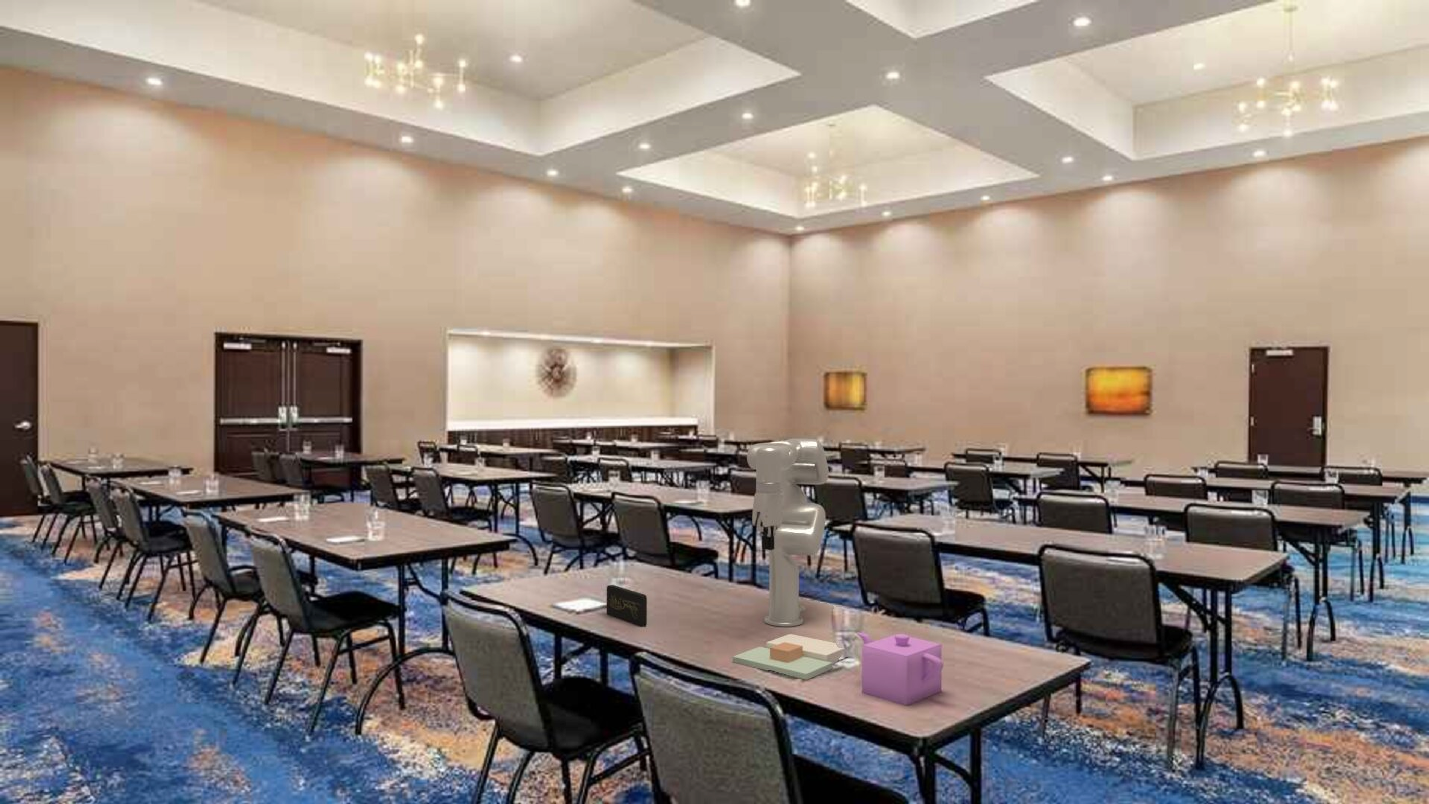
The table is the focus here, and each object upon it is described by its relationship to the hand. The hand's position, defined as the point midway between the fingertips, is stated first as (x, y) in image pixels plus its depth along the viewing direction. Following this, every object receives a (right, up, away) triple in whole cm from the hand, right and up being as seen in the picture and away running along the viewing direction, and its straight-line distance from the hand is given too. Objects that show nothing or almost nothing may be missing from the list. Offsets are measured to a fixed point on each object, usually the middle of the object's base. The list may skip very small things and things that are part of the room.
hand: (768, 549), depth 262 cm
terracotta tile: (+3, -26, -24) cm, 35 cm away
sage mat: (+2, -27, -26) cm, 37 cm away
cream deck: (+10, -27, -16) cm, 33 cm away
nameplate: (-45, -27, +22) cm, 57 cm away
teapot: (+29, -28, -46) cm, 61 cm away
